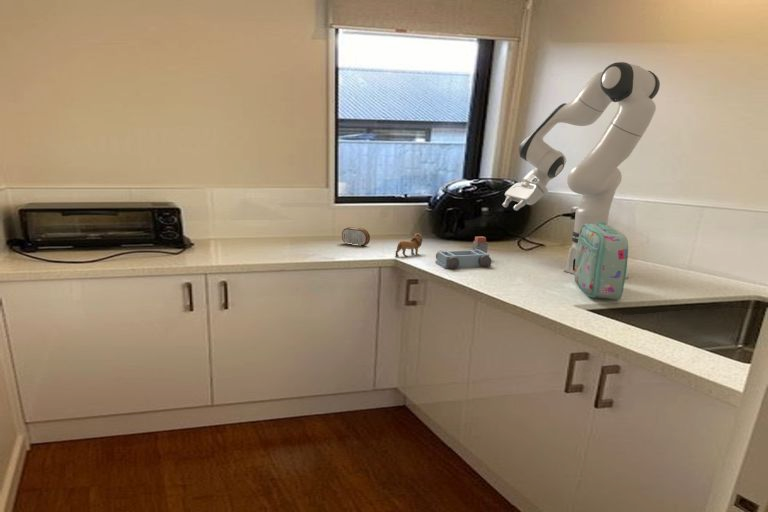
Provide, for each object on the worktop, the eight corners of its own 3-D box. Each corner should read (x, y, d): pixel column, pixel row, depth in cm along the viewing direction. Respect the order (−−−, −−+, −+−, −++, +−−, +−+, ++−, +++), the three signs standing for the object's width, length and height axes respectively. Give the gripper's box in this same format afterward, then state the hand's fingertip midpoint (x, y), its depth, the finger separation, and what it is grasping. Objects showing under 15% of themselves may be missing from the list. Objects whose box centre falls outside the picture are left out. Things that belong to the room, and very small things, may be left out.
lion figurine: (416, 252, 210) (417, 232, 208) (425, 254, 206) (425, 233, 204) (391, 256, 201) (391, 235, 199) (399, 258, 197) (400, 237, 195)
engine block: (486, 259, 195) (487, 237, 194) (476, 259, 194) (477, 238, 193) (482, 257, 200) (483, 236, 198) (472, 257, 199) (473, 236, 197)
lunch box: (569, 279, 163) (574, 217, 159) (600, 281, 162) (606, 218, 157) (588, 303, 137) (595, 230, 133) (626, 305, 136) (635, 231, 131)
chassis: (492, 266, 182) (493, 255, 181) (446, 269, 178) (446, 257, 177) (477, 259, 195) (478, 248, 194) (433, 261, 191) (434, 250, 190)
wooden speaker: (370, 246, 224) (370, 228, 222) (366, 247, 221) (366, 229, 220) (344, 243, 232) (344, 226, 230) (340, 244, 229) (340, 227, 227)
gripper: (515, 176, 205) (493, 199, 205) (541, 180, 185) (516, 205, 185) (524, 186, 207) (502, 209, 207) (550, 191, 187) (525, 216, 188)
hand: (509, 207), depth 196 cm, fingers open, 8 cm apart
